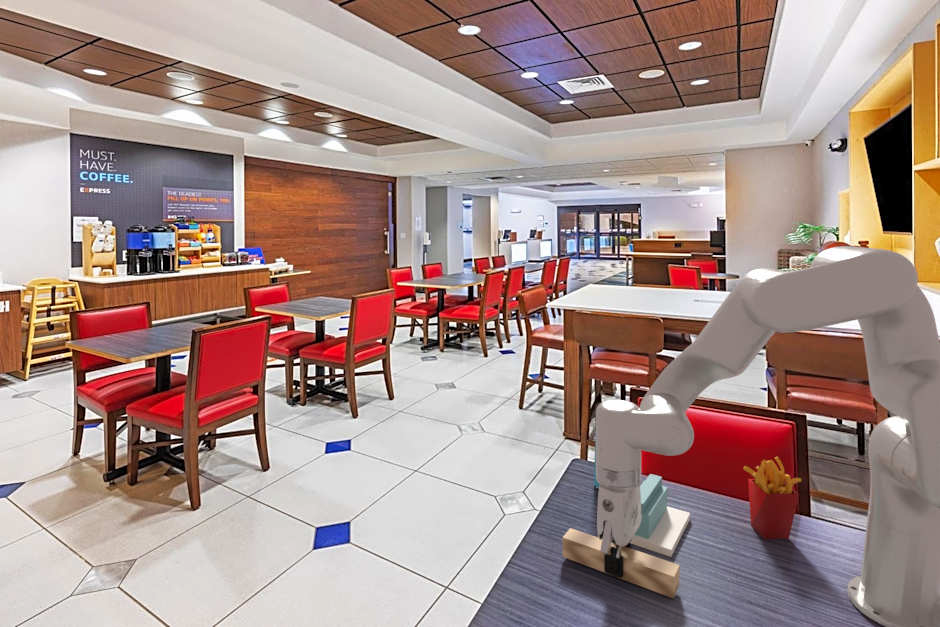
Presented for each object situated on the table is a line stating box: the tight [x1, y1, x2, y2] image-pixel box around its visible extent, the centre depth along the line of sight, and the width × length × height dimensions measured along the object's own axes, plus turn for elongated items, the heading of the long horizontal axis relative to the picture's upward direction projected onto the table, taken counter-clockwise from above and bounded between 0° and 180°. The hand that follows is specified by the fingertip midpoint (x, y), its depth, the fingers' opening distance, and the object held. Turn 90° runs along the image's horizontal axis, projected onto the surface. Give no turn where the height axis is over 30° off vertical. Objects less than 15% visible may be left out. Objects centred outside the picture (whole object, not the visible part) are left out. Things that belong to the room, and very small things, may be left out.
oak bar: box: [561, 527, 681, 599], centre depth 90 cm, size 20×4×4 cm, turn 54°
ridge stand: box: [629, 473, 691, 558], centre depth 104 cm, size 14×15×8 cm
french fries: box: [743, 456, 802, 540], centre depth 102 cm, size 9×8×15 cm
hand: (618, 566), depth 90 cm, fingers closed on oak bar, 3 cm apart
